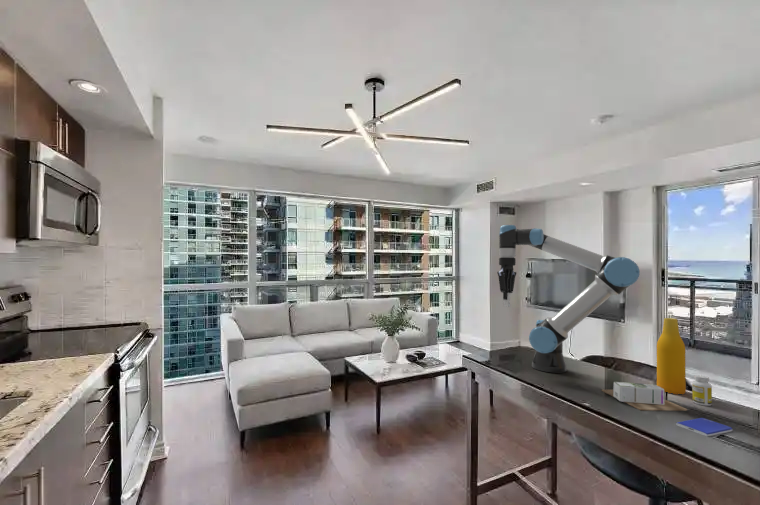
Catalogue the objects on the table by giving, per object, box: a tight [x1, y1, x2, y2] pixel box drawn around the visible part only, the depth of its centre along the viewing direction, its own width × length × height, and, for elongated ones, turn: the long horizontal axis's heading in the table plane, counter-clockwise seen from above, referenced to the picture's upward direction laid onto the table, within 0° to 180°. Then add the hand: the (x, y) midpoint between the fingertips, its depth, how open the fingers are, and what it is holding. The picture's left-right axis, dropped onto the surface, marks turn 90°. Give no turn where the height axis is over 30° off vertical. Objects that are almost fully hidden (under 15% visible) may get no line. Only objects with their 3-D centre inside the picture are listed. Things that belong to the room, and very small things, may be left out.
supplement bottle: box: [691, 374, 713, 407], centre depth 135 cm, size 5×5×10 cm
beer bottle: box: [656, 317, 687, 395], centre depth 149 cm, size 9×9×29 cm
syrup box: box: [612, 381, 666, 405], centre depth 134 cm, size 6×6×14 cm
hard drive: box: [675, 417, 733, 438], centre depth 113 cm, size 2×8×12 cm
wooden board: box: [601, 389, 688, 412], centre depth 137 cm, size 17×20×1 cm
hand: (506, 306), depth 177 cm, fingers closed
